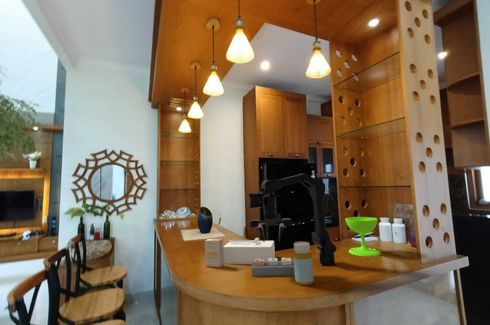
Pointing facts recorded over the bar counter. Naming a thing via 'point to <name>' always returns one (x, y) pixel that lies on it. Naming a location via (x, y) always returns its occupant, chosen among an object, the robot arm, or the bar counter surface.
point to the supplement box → (214, 253)
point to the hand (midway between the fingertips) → (271, 242)
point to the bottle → (303, 263)
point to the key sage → (273, 261)
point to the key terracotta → (259, 262)
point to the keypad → (273, 269)
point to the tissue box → (247, 251)
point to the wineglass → (362, 234)
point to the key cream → (286, 261)
